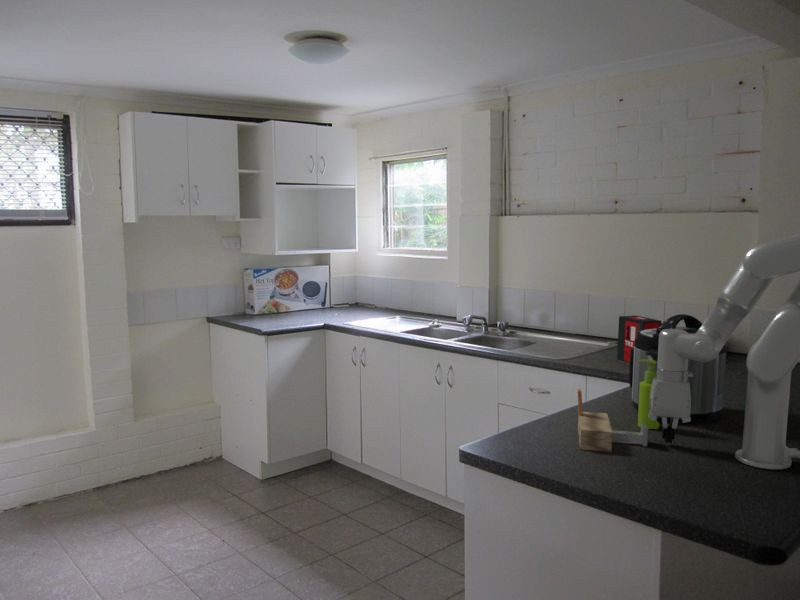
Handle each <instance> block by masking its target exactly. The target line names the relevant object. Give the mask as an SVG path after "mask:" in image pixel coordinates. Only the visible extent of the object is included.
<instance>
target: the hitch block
mask: <svg viewBox="0 0 800 600" xmlns="http://www.w3.org/2000/svg"><path fill="white" fill-rule="evenodd" d="M577 416H578V417H577V420H578V421H577V434H578V441H579V449H582V451H583V450H585V451H593V450H594V451H595V452H596V451H597V452H606V453H607V452H608V453H612V449H613V448H612V446H613V442H612V430H613V429H612V426H611V422H610V419H609V416H608V413H606V412H595V411H593V412H592V411H583V415H579V413H578V415H577Z"/></svg>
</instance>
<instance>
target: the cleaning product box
mask: <svg viewBox="0 0 800 600" xmlns="http://www.w3.org/2000/svg"><path fill="white" fill-rule="evenodd" d="M662 323H663V322H662V320H658V319H655V318H651V317H650V318H649V317H645V316H642V315H641V316H640V315H622V316H621V315H620V316H618V331H617V332H618V333H617V355H616V357H617V358H616V360H617V359H618V360H621V361H625V362H628V363H630V353H631V349H632V348H634V342H635V339H637V332H638V331H641V330H648V329H657V328H658V327H659V326H660V325H661V324H662Z"/></svg>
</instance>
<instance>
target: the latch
mask: <svg viewBox="0 0 800 600" xmlns="http://www.w3.org/2000/svg"><path fill="white" fill-rule="evenodd" d="M582 395H583V394H582V388H577V404H578V414H579V415H583V412H584V411H583V399H582V398H583V397H582Z"/></svg>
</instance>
